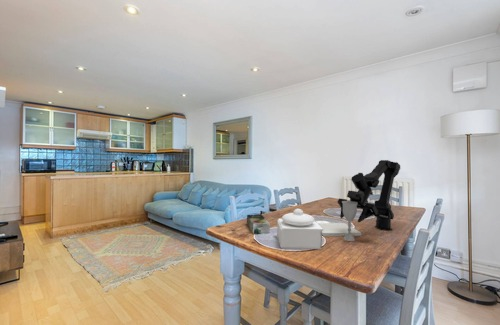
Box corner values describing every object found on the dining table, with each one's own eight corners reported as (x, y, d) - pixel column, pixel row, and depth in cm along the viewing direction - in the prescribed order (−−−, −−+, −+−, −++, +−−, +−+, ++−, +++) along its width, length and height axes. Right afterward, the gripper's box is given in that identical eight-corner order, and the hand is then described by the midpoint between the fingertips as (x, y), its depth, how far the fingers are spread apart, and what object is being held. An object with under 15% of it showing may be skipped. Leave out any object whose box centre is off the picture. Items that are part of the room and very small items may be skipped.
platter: (344, 225, 136) (344, 223, 136) (361, 235, 118) (361, 232, 118) (311, 226, 135) (311, 223, 135) (323, 236, 117) (323, 233, 117)
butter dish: (277, 235, 117) (277, 204, 117) (312, 236, 116) (313, 205, 116) (280, 248, 99) (281, 212, 99) (322, 249, 99) (323, 212, 99)
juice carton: (271, 234, 120) (271, 222, 120) (252, 235, 118) (252, 223, 118) (262, 224, 139) (262, 213, 139) (246, 224, 138) (246, 214, 138)
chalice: (356, 237, 114) (357, 201, 114) (358, 242, 108) (358, 204, 108) (340, 236, 117) (341, 200, 117) (341, 240, 110) (342, 202, 110)
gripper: (339, 183, 123) (325, 205, 117) (375, 186, 107) (361, 213, 101) (348, 197, 127) (335, 219, 121) (383, 202, 112) (370, 228, 106)
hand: (349, 219), depth 112 cm, fingers open, 9 cm apart
